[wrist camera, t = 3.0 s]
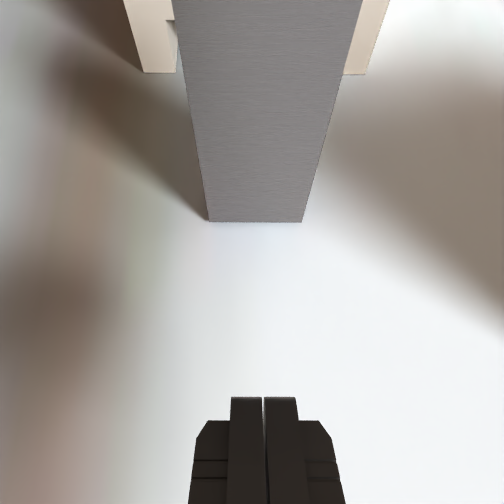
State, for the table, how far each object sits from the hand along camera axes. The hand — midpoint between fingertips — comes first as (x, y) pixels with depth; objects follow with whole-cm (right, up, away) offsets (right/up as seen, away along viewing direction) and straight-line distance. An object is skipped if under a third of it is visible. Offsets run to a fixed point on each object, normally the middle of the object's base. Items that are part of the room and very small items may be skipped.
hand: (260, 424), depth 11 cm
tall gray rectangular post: (0, +13, +17) cm, 21 cm away
